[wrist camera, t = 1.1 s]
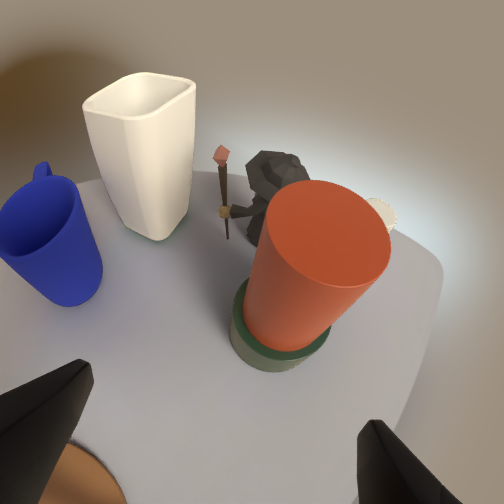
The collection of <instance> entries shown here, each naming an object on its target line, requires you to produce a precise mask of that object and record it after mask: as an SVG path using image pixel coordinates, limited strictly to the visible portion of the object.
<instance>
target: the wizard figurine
mask: <svg viewBox="0 0 504 504" xmlns="http://www.w3.org/2000/svg"><path fill="white" fill-rule="evenodd" d="M229 152H230V151H229V150H228V149H226V148H225V147H223V146H222V145H220V147H218V149H217V150H216V152H215V154H214V157H213V159H214V160H215V161H216V162H217V163H218V164H219V166H218V171H219V179H220V186H221V194H222V201H223V205H222V206H221V207H220V208H219V209H218V212H219V215H220V217H222V218H225V226H226V234H227V239H229V232H228V218H229V217H230V216H231V218H232V219H234V218H240V217H247V216H253V217H252V219H251V221H250V224H249V226H248V228H247V232H248V234H247V237H248V238H249V239H250V241H251V242H252V243H253V244H255V245H256V246H258V242H259V238H260V234H261V230H262V226H263V222H264V218H265V214H266V210H267V207H268V205H269V202H270V201H271V199H272V198H273V196H274V195H275V194H276V193H277V192H278V191H279V190H281V189H282V188H284V187H285V186H287V185H289V184H292V183H295V182H298V181H304V180H310V178H309V176H308V173H307V172H306V169H305V167H304V166H302V165H301V163H300V160H299V158H298V157H297V156H295V155H293V154H285V153H284V152H274V151H260V152H259V153H258V154H257V155H256V156H255V157H254V158H253V159H252V160H250V161H249V162H248V163H247V164H246V165H245V166H246V171H247V175H248V180H249V184H250V188H251V189H252V190H253V191H254V192H255V197H254V198H253V199H252V201H253V205H251V206H250V207H249V208H245V207H241V206H237V205H234V204H233V205H232V207H231V206H230V205H227V164H226V161H227V158H228V155H229Z"/></svg>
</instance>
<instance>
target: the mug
mask: <svg viewBox="0 0 504 504" xmlns="http://www.w3.org/2000/svg"><path fill="white" fill-rule="evenodd" d="M0 257H1V258H2V259H3V260H4V261H5V262H6V263H7V264H8V265H9V266H10V267H11V268H12V269H14V270H15V271H16V272H17V273H18V274H19V275H20V276H21V277H23V278H24V279H25V280H26V281H27V282H28V283H29V284H31V285H32V286H33V287H34V288H35V289H37V290H38V291H39V292H40V293H41V294H43V295H44V296H45V297H46V298H48V299H49V300H50V301H52V302H53V303H55V304H58V305H60V306H66V307H72V306H77V305H80V304H82V303H84V302H85V301H87V300H88V299H89V298H90V297H91V296H92V295H93V294H94V293H95V292H96V290H97V289H98V287H99V285H100V282H101V279H102V272H103V267H102V260H101V257H100V254H99V251H98V249H97V246H96V243H95V240H94V238H93V235H92V232H91V229H90V226H89V223H88V220H87V217H86V214H85V211H84V208H83V204H82V201H81V198H80V194H79V191H78V189H77V187H76V185H75V184H74V183H73V182H72V181H71V180H69V179H68V178H66V177H63V176H56V175H52V172H51V169H50V166H49V164H48V162H42V163H40V164H38V165H37V166H36V167H35V169H34V173H33V181H31V182H29V183H28V184H26V185H24V186H23V187H21V188H20V189H19V190H18V191H16V192H15V193H14V194H13V195H12V196H11V197H10V198H9V200H7V202H6V203H5V204H4V206H3V207H2V209H1V210H0Z"/></svg>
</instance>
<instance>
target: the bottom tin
mask: <svg viewBox="0 0 504 504" xmlns="http://www.w3.org/2000/svg"><path fill="white" fill-rule="evenodd" d="M249 278H250V277H249ZM249 278H248V279H246V280H245V281H244V282H243V284H242V285H241V286H240V288H239V289H238V291H237V293H236V296H235V298H234V303H233V308H232V313H231V319H230V325H229V334H230V339H231V343H232V345H233V347H234V349H235V351H236V353H237V354H238V355H239V356H240V358H241V359H242V360H243V361H245V362H246V363H247V364H249V365H250V366H252V367H254V368H256V369H258V370H262V371H266V372H282V371H286V370H289V369H292V368H294V367H295V366H297V365H299V364H300V363H301V362H303V361H304V360H305V359H307V358H308V357H309V356H311V355H312V354H313V353H314V352H316V351H317V350H318V349H319V348H320V347H321V346H322V345H323V344H324V342H325V341H326V339H327V337H328V335H329V332H330V329H331V326H329V327H328V328H327V329H326V330H325V331H324V332H323V333H322V334H321V335H320V336H319V337H318V338H316V339H315V340H314V341H313V342H312V343H311V344H309V345H308V346H306V347H304V348H302V349H299V350H295V351H278V350H274V349H271V348H269V347H266V346H265V345H263V344H261V343H260V342H259V341H257V340H256V339H255V338H254V337H253V336H252V334H251V333H250V332H249V330H248V328H247V327H246V324H245V322H244V318H243V302H244V297H245V294H246V290H247V286H248V282H249Z"/></svg>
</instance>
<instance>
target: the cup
mask: <svg viewBox="0 0 504 504" xmlns="http://www.w3.org/2000/svg"><path fill="white" fill-rule="evenodd" d="M195 98H196V84H195V83H194V82H193V81H191V80H189V79H185V78H180V77H175V76H168V75H163V74H155V73H148V72H142V73H135V74H131V75H128V76H126V77H123V78H121V79H119V80H118V81H116V82H114V83H112V84H111V85H109V86H107V87H105V88H104V89H102V90H100V91H99V92H97V93H95V94H94V95H92V96H91V97H89V98H88V99H87V100H86V101H85V102H84V104H83V105H82V108H83V112H84V117H85V121H86V125H87V130H88V134H89V138H90V142H91V146H92V149H93V152H94V155H95V159H96V162H97V165H98V168H99V171H100V174H101V176H102V179H103V182H104V184H105V187H106V189H107V192H108V194H109V196H110V198H111V200H112V202H113V205H114V207H115V209H116V211H117V212H118V214H119V216H120V218H121V220H122V221H123V223H124V225H125V226H126V227H127V228H129V229H131V230H133V231H135V232H137V233H139V234H141V235H143V236H145V237H147V238H149V239H152V240H155V241H158V240H163V239H165V238H167V237H168V236H169V235H170V234H171V233H172V231H173V230H174V229H175V227H176V226H177V225H178V224H179V222H180V221H181V220H182V218H183V217H184V216H185V215H186V213H187V211H188V204H189V197H190V190H191V181H192V171H193V155H194V134H195V131H194V130H195Z"/></svg>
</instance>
